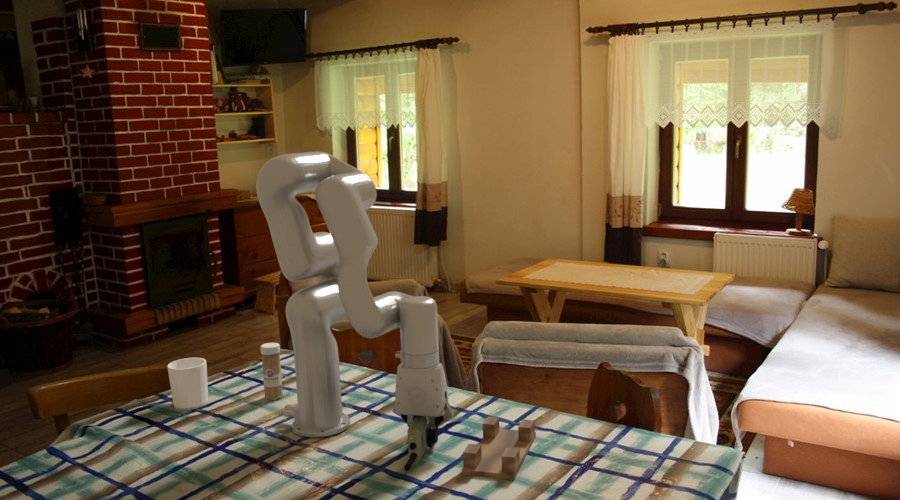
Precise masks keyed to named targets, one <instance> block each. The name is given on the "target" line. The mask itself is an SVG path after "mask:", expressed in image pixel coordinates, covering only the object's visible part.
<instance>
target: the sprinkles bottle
mask: <svg viewBox="0 0 900 500" xmlns="http://www.w3.org/2000/svg"><path fill="white" fill-rule="evenodd" d="M280 352H281V345H280V343H277V342H266V343H263V344H261V345H260V355H261V365H262V380H263V387H264V390H263V391H264V399H265V400H267V401H276V400H280V399H281V398H283V396H284V394H283V381H282V379H283V377H282V367H281V358H280V357H281V355H280Z"/></svg>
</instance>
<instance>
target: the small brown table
mask: <svg viewBox="0 0 900 500" xmlns="http://www.w3.org/2000/svg"><path fill="white" fill-rule="evenodd" d="M484 419H485V420H484V421H483V423H482V439H481V440H480V441H479V443H478V444H475V443H468V444H467V445H466V447H465V449H464V450H463V451H462V460H463V463H462V466H463V467H462V469H461V475H463V476H471V477H482V478H490V479H500V480H508V481H509V480H510V481H515V480H516V477H517V476H518V473H519V471H520V469H521V467H522V465H523V463H524V461H525V459H526V457H527V455H528V453H529V451H530V449H531V447H532V446H533V443H534V441H535V439H536V437H537V435H536V434H537V433H536V430H535V427H536V426H535V420H534V419H533V420H532V419H523V418H522V420H521V421H520V423H519V426H518V427H517V430H514V429H507V428H505V429H503V428H500V417H498V416H489V415H487V417H486V418H484Z"/></svg>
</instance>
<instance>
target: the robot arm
mask: <svg viewBox="0 0 900 500" xmlns="http://www.w3.org/2000/svg"><path fill="white" fill-rule="evenodd" d="M255 182H256V183H255V184H256V186H255V189H256V196H257V200H258V202H259V205H260V208H261V210H262V213H263V214H264V217H265V219H266V222H267V225H268V228H269V233H270V236H271V240H272V243H273V247H274V250H275V253H276V257H277V261H278V265H279V268H280V271H281V273H282V275H283V276H284V278H286V279H287V280H288V281H290V282H294V283H299V282H300V283H301V282H305V281H309V280H312V279H315V280H316V283H314V284H311V285H308V286H304V287H303V288H301V289H299V290H297V291H295V292H294V293H293V294H292V295H291V296H290V297H289V298H288V300H287V302H286V305H285V317H286V321H287V324H288V327H289V328H288V329H289V331H290V337H291V341H292V348H293V349H292V351H293V359H294V373H295V386H296V398H297V400H296V401H297V405H294V404H285V405H284V408H283V417H286V418H293V419H294V420H293V422H292V424H291V428H292V432H293V433H295V435H298V436H301V437H306V438H324V437H330V436H333V435H337V434H340V433H342V432H344V431H345V430H346V429H348V428H349V427H350V424H351V418H350V416H349V414H346V413H344V412H343V401H342V387H341V386H342V385H341V371H340V370H341V369H340V357H339V347H338V343H337V340H336V337H335V336H334V334H333V332H332V330H331V326H332V325H334V324H337V323H338V322H341V321H343V320H344V321H345V319H348V321H349V322H350V325H351V326H352V327H353V329H354V331H356V333H357V334H358V335H360V336H362V337H363V338H367V339H375V338H378V337H380V336H382V335H385V334H387V333H389V332H391V331H394V330H397V329H399V330H400V333H399V334H400V350H399V351H397V350H396V351H395V353H394V357H395V359H400V363H399V364H398V365H397V371H396V378H395V379H396V380H395V392H394V393H395V394H394V395H395V396H394V397H395V399H394V401H395V404H394V405H393V409H392V413H393V414H395V415H397V416H398V417H400V418H401V419H402V420H403V421H404V422H405V424H406V425H407V427H408V428H409V427H410V425H411V424H412V422H413V420H414V419H415V417H416V416H425V417H429V425H430V426H429V429H428V431H427V433H428V447H427V448H429V449H433V448H434V446H435V445H436V444H437V443H438V441H439V429H438V427H439V426H440V424H442V423H443V422H444V421H447V420H450V419H452V418H453V417H454V415H455V412H454V411H453V408H452V407H451V404H450V403H449V394H448V384H447V379H446V373H445V370H444V366H443V363H441V362H440V350H439V349H440V348H439V345H440V344H439V325H438V305H437V302H436V300H435V299H434V298H432V297H430V296H425V295H422V296H421V295H417V296H416V295H415V296H414V295H410V294H407V293H404V292H400V291H396V290H395V291H387V292H384V293H382V294H380V295H376V296H373V294H372V292H371V289H370V286H369V283H368V276H367V275H368V273H367V269H368V264H369V261H370V259H371V257H372V256H373V254H374V251H375V250H376V248H377V247H378V244H379V238H378V236H377V234H376V231H375V230H374V226H373V225H372V222H371V220H370V217H369V216H368V213H367V210H369V209H370V208H372V207H373V206H374V205H375V203H376V200H377V196H378V193H377V187H376V185H375V183H374V181H373V179H371V178H370V176H369V175H367V174H366V173H365V172H363V171H362V170H361V169H358V168H356V167H355V166H353V165H351V164H349V163H347V162H345V161H343V160H341V159H339V157H338V158H337V157H336V156H335V155H334V156H333V155H332V154H330V153H328V152H324V151H316V150H315V151H306V152H294V153H293V152H292V153H285V154H281V155H277V156H275V157H272V158H270V159H269V160H268V161H266V162H265V163H264V164H263V165H262V166H261V168H260V170H259V171H258V173H257V177H256V181H255ZM311 192H314V193H315V196H314V197H315V201H316V203H317V205H318V208H319V211H320V213H321V215H322V217H323V220H324V222H325V224H326V226H327V227H326V228H327V229H328V231H329V232H326V231H318V232H313V230H312V227H311V225H310V219H309V216H308V214H307V212H306V211H305V208H304V207H303V205H302V204H301V203H300V202H299V200H297V199H296V195H298V194H304V193H311Z"/></svg>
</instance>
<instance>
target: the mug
mask: <svg viewBox="0 0 900 500" xmlns="http://www.w3.org/2000/svg"><path fill="white" fill-rule="evenodd" d="M207 366H208V365H207V360H206V359H205V358H202V357H187V358H186V357H184V358H180V359H177V360H173V361H170V362H169V363H168V364H167V372H168V379H169V385H170V390H171V397H172V403H173V408H175V410H178V411H190V410H196V409H200V408H202V407H204V406H206V405H207V404H208V403H209V392H208V389H209V388H208V368H207Z"/></svg>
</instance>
